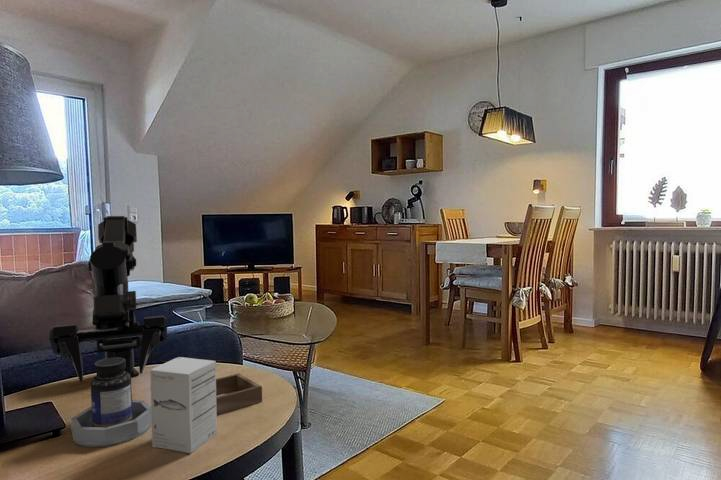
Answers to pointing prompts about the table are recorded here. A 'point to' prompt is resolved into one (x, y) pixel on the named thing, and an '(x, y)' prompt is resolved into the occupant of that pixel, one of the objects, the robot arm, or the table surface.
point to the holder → (236, 393)
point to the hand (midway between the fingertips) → (111, 376)
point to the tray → (111, 427)
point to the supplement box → (183, 404)
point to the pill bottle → (111, 393)
